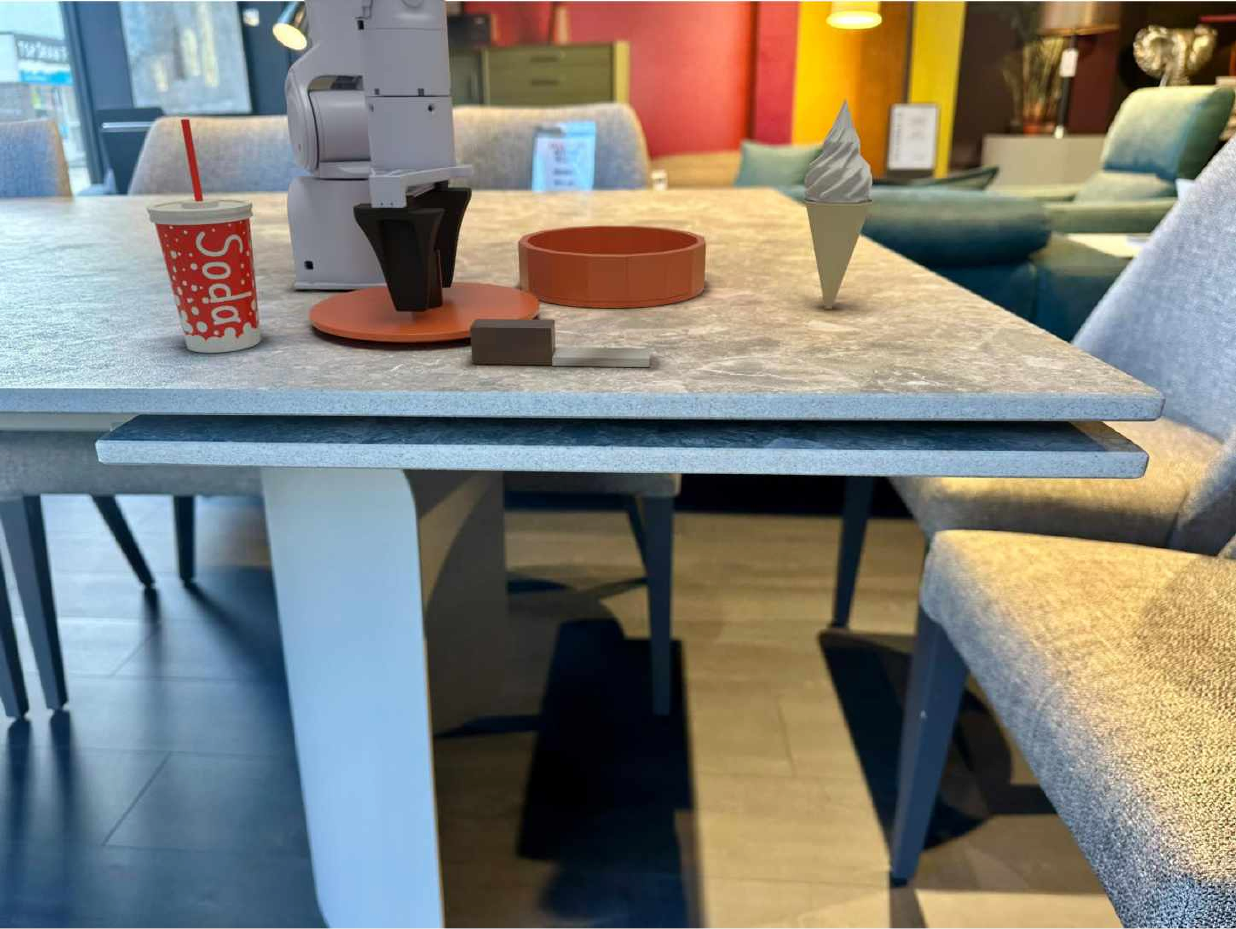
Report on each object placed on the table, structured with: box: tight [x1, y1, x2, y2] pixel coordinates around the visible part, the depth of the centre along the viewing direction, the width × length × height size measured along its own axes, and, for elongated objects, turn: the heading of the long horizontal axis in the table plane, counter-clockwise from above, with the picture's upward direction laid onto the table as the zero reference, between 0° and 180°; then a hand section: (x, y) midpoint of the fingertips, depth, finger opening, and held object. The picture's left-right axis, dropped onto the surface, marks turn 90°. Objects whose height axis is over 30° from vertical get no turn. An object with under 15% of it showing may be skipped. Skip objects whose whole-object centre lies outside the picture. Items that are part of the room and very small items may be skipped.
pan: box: [517, 224, 707, 309], centre depth 76 cm, size 15×15×4 cm
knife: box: [470, 319, 651, 368], centre depth 56 cm, size 11×2×2 cm, turn 87°
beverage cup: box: [146, 118, 262, 354], centre depth 58 cm, size 6×6×14 cm
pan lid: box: [308, 247, 541, 344], centre depth 65 cm, size 16×16×5 cm
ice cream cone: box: [803, 98, 874, 310], centre depth 67 cm, size 5×5×15 cm
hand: (425, 298), depth 66 cm, fingers open, 7 cm apart
